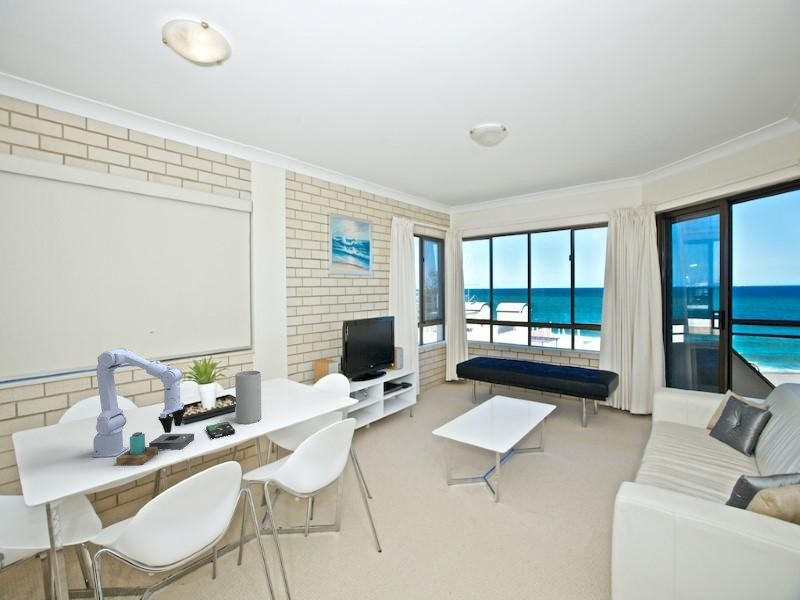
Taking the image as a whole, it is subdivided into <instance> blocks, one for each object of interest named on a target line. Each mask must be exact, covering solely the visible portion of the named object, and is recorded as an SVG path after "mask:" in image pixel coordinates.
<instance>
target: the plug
mask: <svg viewBox="0 0 800 600" xmlns="http://www.w3.org/2000/svg"><path fill="white" fill-rule="evenodd" d="M145 447H146V437H145V433H143V432H142V431H138V432H137V431H136V432H134V433H132V435H131V436H130V437H129V450H130V455H140V454H142V453H143V452H145Z"/></svg>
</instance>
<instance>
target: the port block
mask: <svg viewBox="0 0 800 600" xmlns="http://www.w3.org/2000/svg"><path fill="white" fill-rule="evenodd" d="M193 441H195V433H163V434H161V435H159V436H158V437H156V438H155V439H153V440H152V441H150V442H149V444H148V447H158V449H171V450H184V449H185V448H186V447H187V446H188V445H190V444H191V443H192V442H193ZM190 442H191V443H190ZM189 443H190V444H189ZM184 447H185V448H184Z"/></svg>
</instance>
